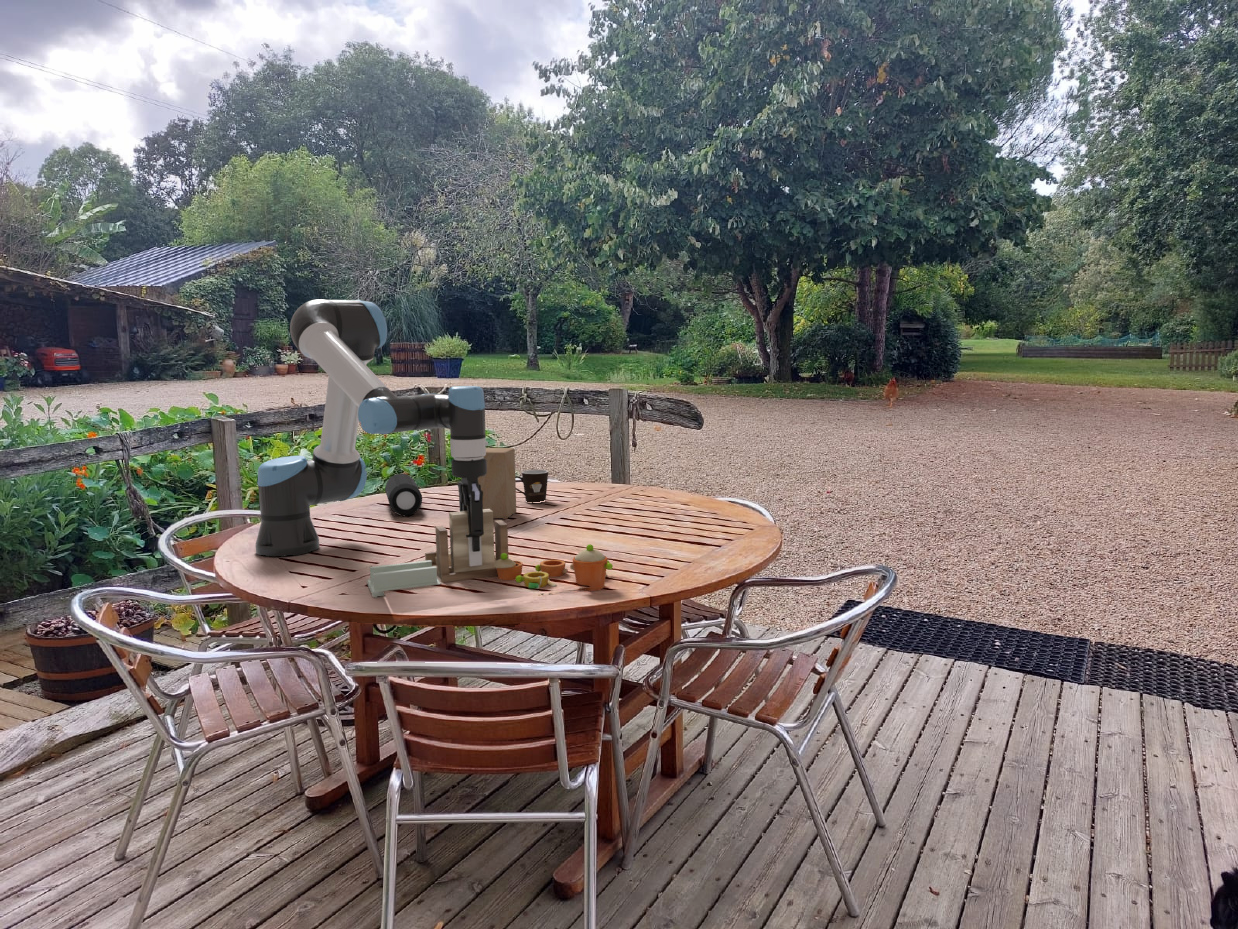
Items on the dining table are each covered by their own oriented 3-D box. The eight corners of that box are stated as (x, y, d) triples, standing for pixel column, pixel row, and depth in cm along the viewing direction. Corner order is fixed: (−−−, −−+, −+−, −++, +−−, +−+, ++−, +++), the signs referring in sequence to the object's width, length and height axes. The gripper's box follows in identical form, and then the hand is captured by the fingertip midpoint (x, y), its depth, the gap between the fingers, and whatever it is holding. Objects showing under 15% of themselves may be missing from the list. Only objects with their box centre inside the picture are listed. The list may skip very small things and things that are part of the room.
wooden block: (516, 512, 256) (515, 447, 253) (506, 519, 246) (504, 452, 243) (485, 511, 258) (483, 447, 255) (474, 518, 248) (472, 451, 245)
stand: (367, 585, 181) (366, 565, 181) (432, 577, 187) (431, 558, 186) (373, 597, 172) (372, 577, 171) (441, 589, 178) (440, 569, 177)
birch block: (451, 574, 184) (448, 512, 182) (491, 569, 188) (489, 508, 186) (454, 578, 181) (451, 515, 179) (495, 573, 185) (492, 511, 183)
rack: (425, 567, 194) (423, 516, 193) (492, 560, 200) (491, 510, 199) (440, 587, 178) (437, 532, 177) (512, 578, 185) (511, 525, 183)
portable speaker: (385, 503, 273) (384, 473, 272) (416, 501, 276) (415, 471, 275) (390, 519, 249) (388, 486, 248) (423, 516, 252) (422, 483, 251)
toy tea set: (607, 572, 191) (606, 530, 189) (620, 591, 176) (620, 547, 174) (491, 579, 186) (490, 537, 184) (495, 600, 171) (494, 554, 169)
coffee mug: (552, 499, 275) (551, 470, 274) (544, 504, 267) (543, 474, 266) (519, 498, 278) (518, 469, 277) (510, 503, 270) (509, 473, 268)
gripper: (496, 461, 174) (499, 570, 178) (476, 451, 190) (480, 551, 194) (460, 464, 171) (464, 574, 175) (443, 453, 187) (447, 555, 191)
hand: (472, 562), depth 184 cm, fingers open, 4 cm apart
